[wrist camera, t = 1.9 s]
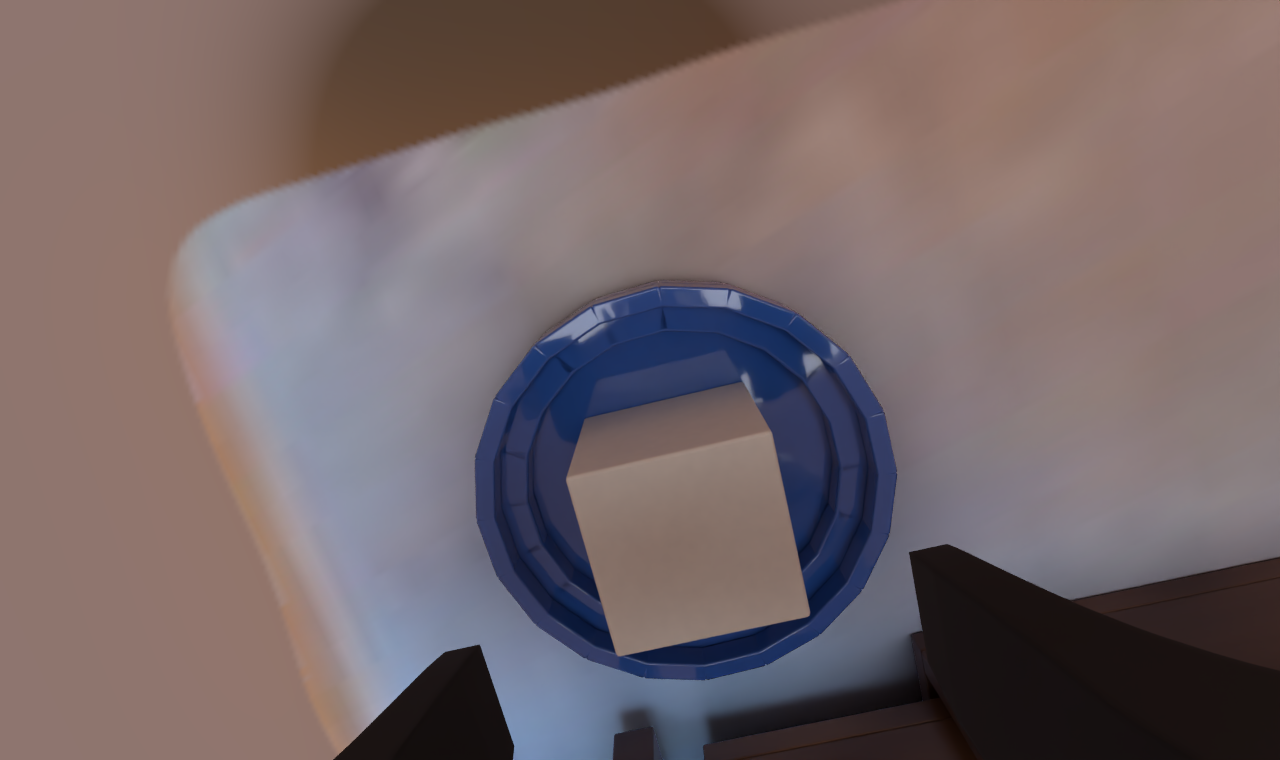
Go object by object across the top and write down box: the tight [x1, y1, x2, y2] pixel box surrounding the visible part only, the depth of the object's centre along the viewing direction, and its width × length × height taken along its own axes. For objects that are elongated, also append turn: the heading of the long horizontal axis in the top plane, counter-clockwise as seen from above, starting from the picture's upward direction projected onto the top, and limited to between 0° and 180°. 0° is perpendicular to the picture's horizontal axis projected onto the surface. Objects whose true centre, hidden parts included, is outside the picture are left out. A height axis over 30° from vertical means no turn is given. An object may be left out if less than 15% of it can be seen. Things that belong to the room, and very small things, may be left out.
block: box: [566, 382, 810, 656], centre depth 17 cm, size 4×4×4 cm
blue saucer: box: [475, 280, 897, 680], centre depth 18 cm, size 11×11×2 cm
